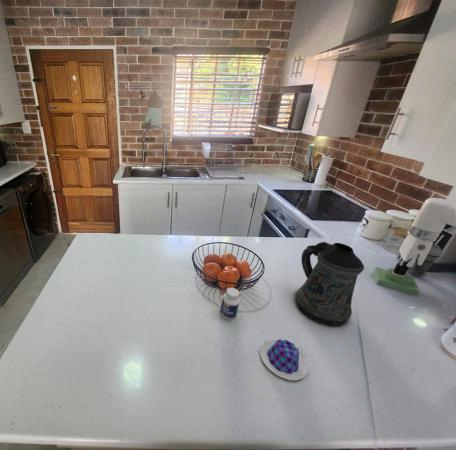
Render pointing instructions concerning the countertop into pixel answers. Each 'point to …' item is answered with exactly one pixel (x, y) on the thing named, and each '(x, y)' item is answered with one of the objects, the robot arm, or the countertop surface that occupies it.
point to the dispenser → (395, 281)
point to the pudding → (283, 359)
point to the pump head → (398, 275)
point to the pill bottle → (230, 304)
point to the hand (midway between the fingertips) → (398, 273)
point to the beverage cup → (426, 261)
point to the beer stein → (328, 283)
